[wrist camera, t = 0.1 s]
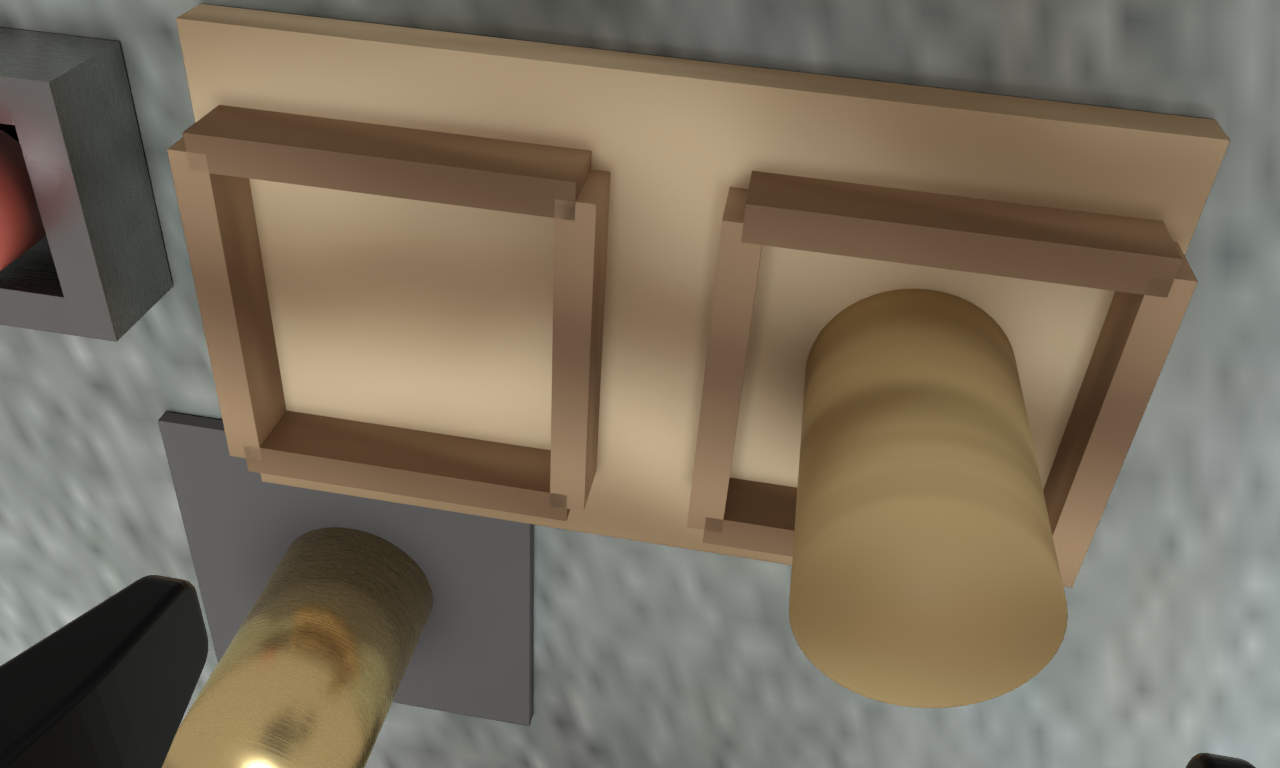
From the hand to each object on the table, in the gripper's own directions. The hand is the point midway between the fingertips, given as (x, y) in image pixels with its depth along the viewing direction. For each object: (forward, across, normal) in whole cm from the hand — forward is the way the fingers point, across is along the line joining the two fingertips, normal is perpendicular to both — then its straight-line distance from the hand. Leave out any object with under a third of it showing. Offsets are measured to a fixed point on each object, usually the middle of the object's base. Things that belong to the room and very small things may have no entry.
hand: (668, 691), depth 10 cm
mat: (+15, +10, +15) cm, 23 cm away
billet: (+14, +10, +15) cm, 23 cm away
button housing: (+15, +17, +3) cm, 23 cm away
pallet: (+15, +2, +5) cm, 16 cm away
